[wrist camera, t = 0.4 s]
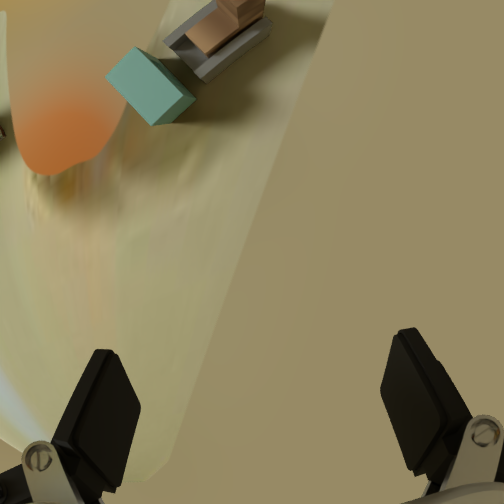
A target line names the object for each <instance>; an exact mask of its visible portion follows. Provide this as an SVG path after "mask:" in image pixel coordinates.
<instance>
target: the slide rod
mask: <svg viewBox="0 0 504 504" xmlns="http://www.w3.org/2000/svg"><path fill="white" fill-rule="evenodd" d="M216 3H217V7H218V8H216V9H215V10H214V11H212V12H211V13H210V14H208V15H207V16H206V17H204V18H203V19H202V20H201V21H199V22H198V23H197V24H196V25H194V26H193V27H192V28H191V29H189V30H188V31H187V32H186V33H185V35H186V36H187V37H188V38H189V40H190V41H191V42H192V43H193V44H194V45H195V46H197V47H198V48H199V49H200V50H201V51H202V52H203V53H204V54H205V55H206V56H207V57H208V58H211V57H212V56H213V55H214V54H216V53H217V52H218V51H219V50H221V49H222V48H223V47H224V46H226V45H227V44H228V43H230V42H231V41H232V40H233V39H235V38H236V37H237V36H239V35H240V34H241V33H243V32H244V31H246V30H247V29H248V28H250V27H251V26H252V25H254V24H255V23H257V22H258V21H260V20H261V19H262V17H263V11H264V6H265V0H216Z"/></svg>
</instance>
